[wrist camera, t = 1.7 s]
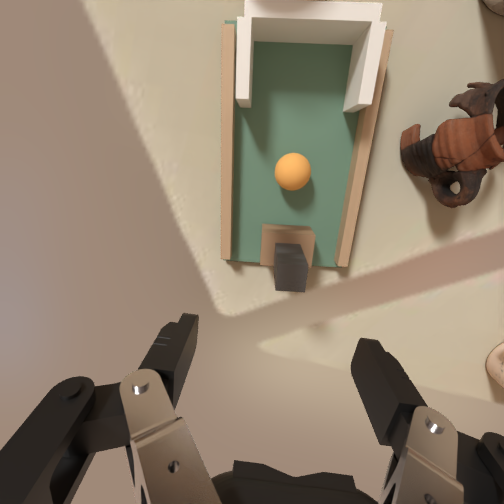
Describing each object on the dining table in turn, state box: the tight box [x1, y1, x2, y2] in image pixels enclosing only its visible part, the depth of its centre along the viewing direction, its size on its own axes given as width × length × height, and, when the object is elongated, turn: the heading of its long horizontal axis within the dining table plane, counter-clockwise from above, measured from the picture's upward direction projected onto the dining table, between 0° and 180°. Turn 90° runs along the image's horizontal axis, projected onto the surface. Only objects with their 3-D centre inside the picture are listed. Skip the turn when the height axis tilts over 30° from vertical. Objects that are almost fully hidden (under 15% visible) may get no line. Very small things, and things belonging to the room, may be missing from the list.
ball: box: [275, 153, 311, 191], centre depth 29 cm, size 4×4×4 cm
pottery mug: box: [401, 79, 504, 208], centre depth 28 cm, size 12×10×8 cm
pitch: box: [221, 0, 394, 267], centre depth 28 cm, size 16×26×6 cm, turn 177°
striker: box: [260, 224, 316, 292], centre depth 29 cm, size 6×4×10 cm, turn 87°
